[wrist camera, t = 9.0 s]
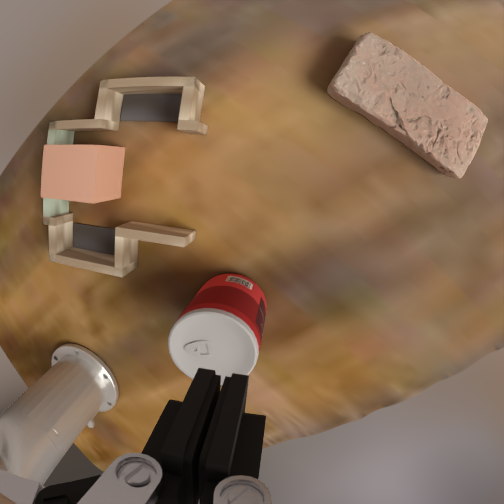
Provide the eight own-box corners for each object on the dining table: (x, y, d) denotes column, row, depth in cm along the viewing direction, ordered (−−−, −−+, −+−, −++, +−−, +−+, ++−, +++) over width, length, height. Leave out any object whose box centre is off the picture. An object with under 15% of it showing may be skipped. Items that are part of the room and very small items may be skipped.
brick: (322, 96, 31) (327, 85, 26) (356, 39, 29) (365, 23, 24) (444, 180, 31) (464, 182, 27) (472, 123, 29) (493, 119, 25)
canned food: (188, 284, 37) (152, 325, 27) (252, 260, 36) (235, 298, 25) (215, 339, 39) (191, 394, 28) (277, 320, 37) (271, 374, 27)
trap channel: (192, 277, 37) (181, 289, 33) (62, 251, 38) (44, 259, 35) (213, 86, 32) (204, 77, 28) (74, 90, 33) (55, 85, 29)
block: (121, 197, 36) (93, 203, 30) (70, 192, 37) (40, 197, 31) (125, 147, 34) (98, 144, 29) (73, 146, 35) (44, 144, 29)
